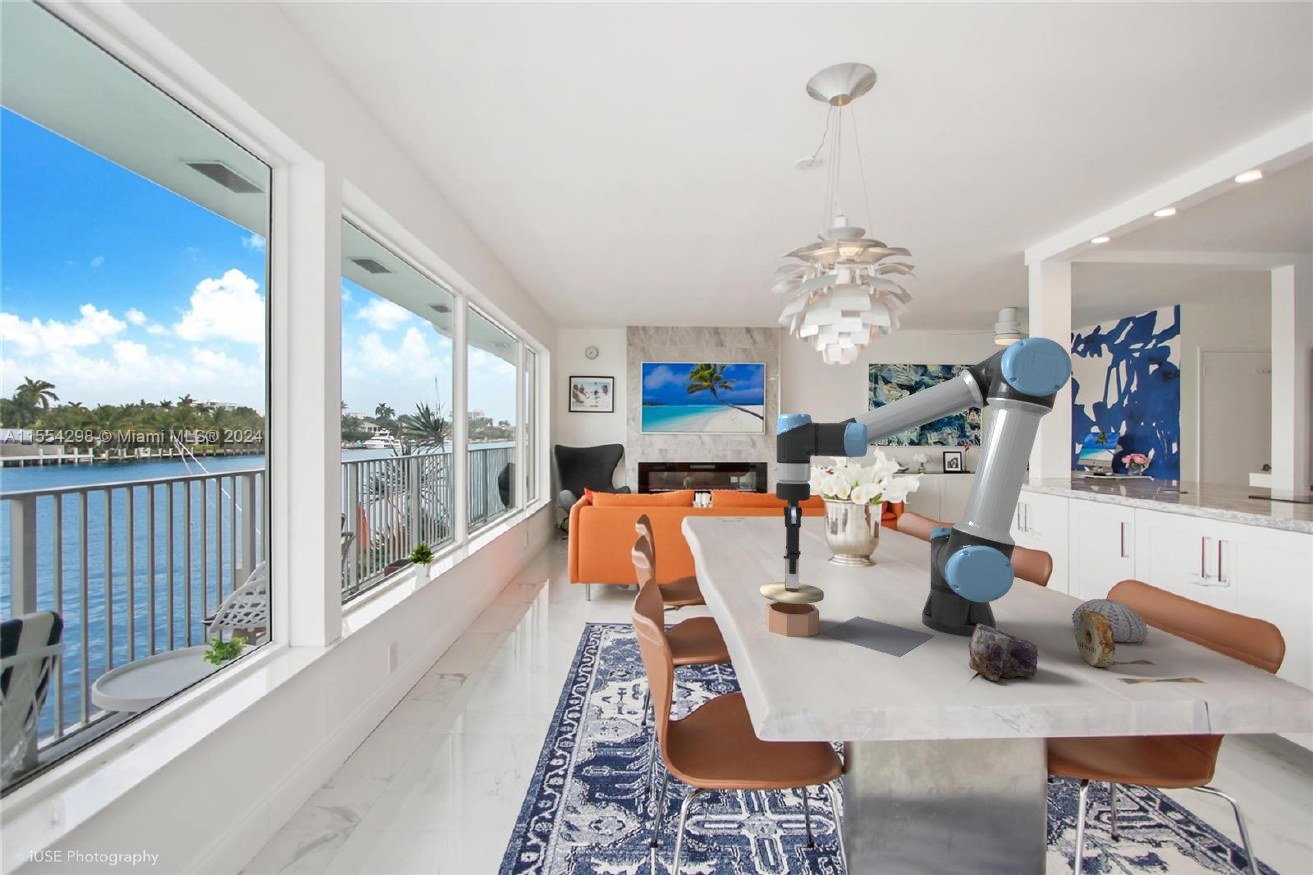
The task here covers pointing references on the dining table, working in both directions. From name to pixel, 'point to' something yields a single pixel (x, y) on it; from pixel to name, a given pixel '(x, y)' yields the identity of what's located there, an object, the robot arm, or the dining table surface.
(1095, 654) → the stone disc
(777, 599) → the oak lid
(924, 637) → the rubber mat
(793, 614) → the terracotta bowl
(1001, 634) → the rock
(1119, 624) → the sea urchin shell
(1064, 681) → the dining table surface
